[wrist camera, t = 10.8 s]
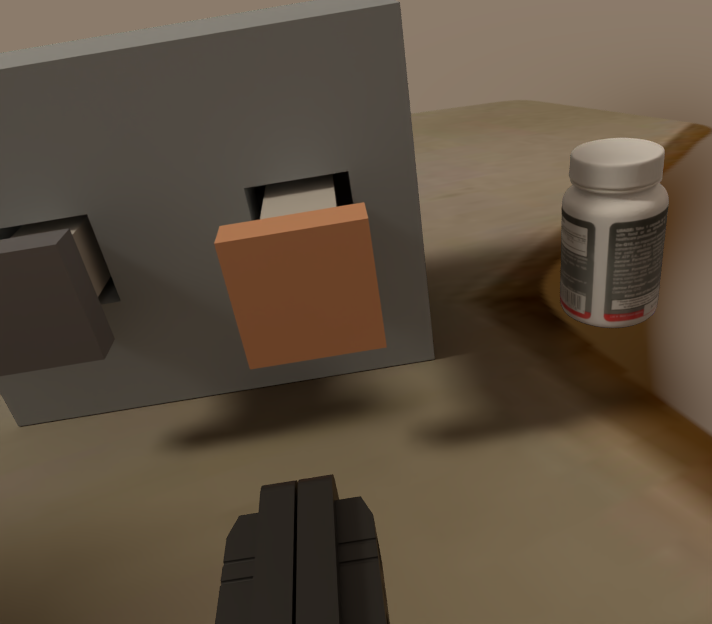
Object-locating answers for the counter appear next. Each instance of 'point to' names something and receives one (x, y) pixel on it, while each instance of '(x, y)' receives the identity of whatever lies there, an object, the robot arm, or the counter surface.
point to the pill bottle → (613, 232)
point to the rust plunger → (302, 276)
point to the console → (209, 185)
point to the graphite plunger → (52, 297)
